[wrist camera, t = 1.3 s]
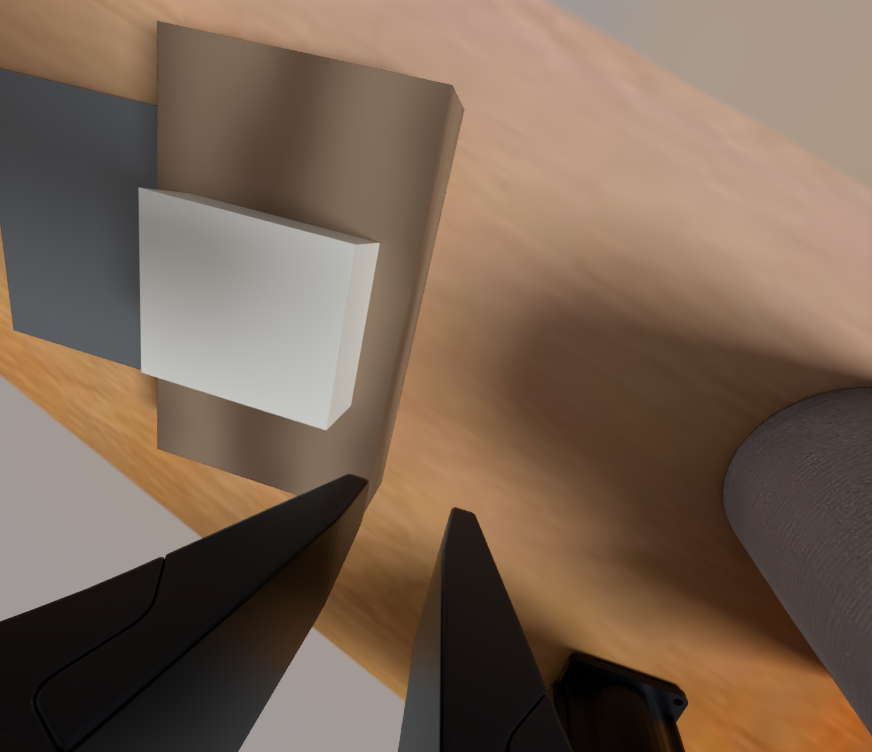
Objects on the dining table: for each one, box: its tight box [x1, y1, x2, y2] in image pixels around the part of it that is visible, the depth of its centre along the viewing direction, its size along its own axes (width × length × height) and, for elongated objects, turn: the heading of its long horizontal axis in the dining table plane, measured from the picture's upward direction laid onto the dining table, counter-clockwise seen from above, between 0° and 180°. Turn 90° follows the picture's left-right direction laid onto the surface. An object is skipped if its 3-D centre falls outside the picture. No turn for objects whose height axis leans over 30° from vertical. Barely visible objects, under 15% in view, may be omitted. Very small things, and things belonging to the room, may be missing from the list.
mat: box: [0, 68, 157, 370], centre depth 22 cm, size 11×13×1 cm
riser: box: [157, 21, 464, 512], centre depth 19 cm, size 11×18×3 cm, turn 167°
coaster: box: [139, 188, 380, 430], centre depth 17 cm, size 8×7×2 cm
